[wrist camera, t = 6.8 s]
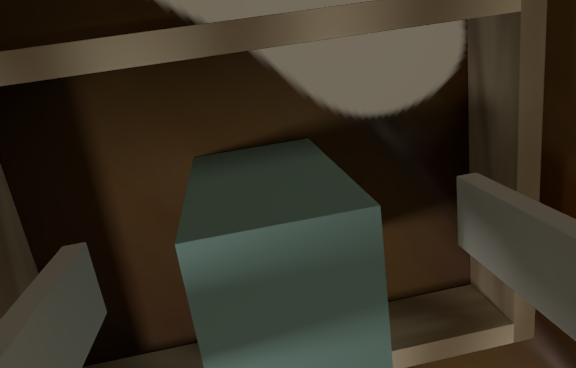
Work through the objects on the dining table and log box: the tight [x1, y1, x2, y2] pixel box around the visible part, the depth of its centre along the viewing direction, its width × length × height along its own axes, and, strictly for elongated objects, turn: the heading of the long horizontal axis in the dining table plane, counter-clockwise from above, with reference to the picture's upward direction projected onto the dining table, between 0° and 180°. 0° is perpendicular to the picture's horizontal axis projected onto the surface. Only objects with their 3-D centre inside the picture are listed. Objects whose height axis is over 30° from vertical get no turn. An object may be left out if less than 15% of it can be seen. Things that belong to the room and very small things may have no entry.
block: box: [175, 138, 393, 368], centre depth 15 cm, size 5×5×9 cm
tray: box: [0, 0, 547, 368], centre depth 18 cm, size 22×15×4 cm
